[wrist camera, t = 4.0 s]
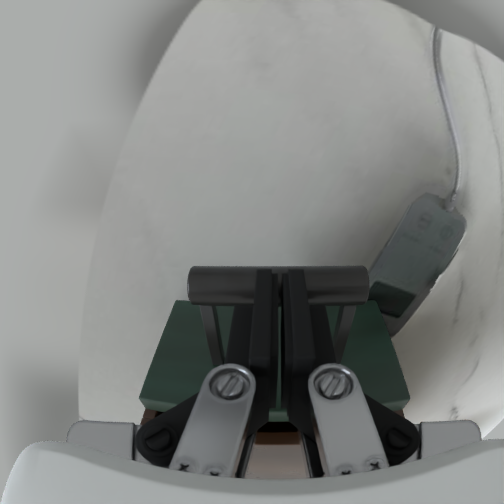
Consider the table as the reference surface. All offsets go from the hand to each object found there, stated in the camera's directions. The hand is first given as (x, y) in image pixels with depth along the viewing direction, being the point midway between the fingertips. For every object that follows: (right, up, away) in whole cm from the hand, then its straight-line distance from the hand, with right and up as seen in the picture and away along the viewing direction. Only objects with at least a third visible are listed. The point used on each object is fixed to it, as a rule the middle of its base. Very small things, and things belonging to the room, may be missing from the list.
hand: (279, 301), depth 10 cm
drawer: (+1, -6, +10) cm, 11 cm away
